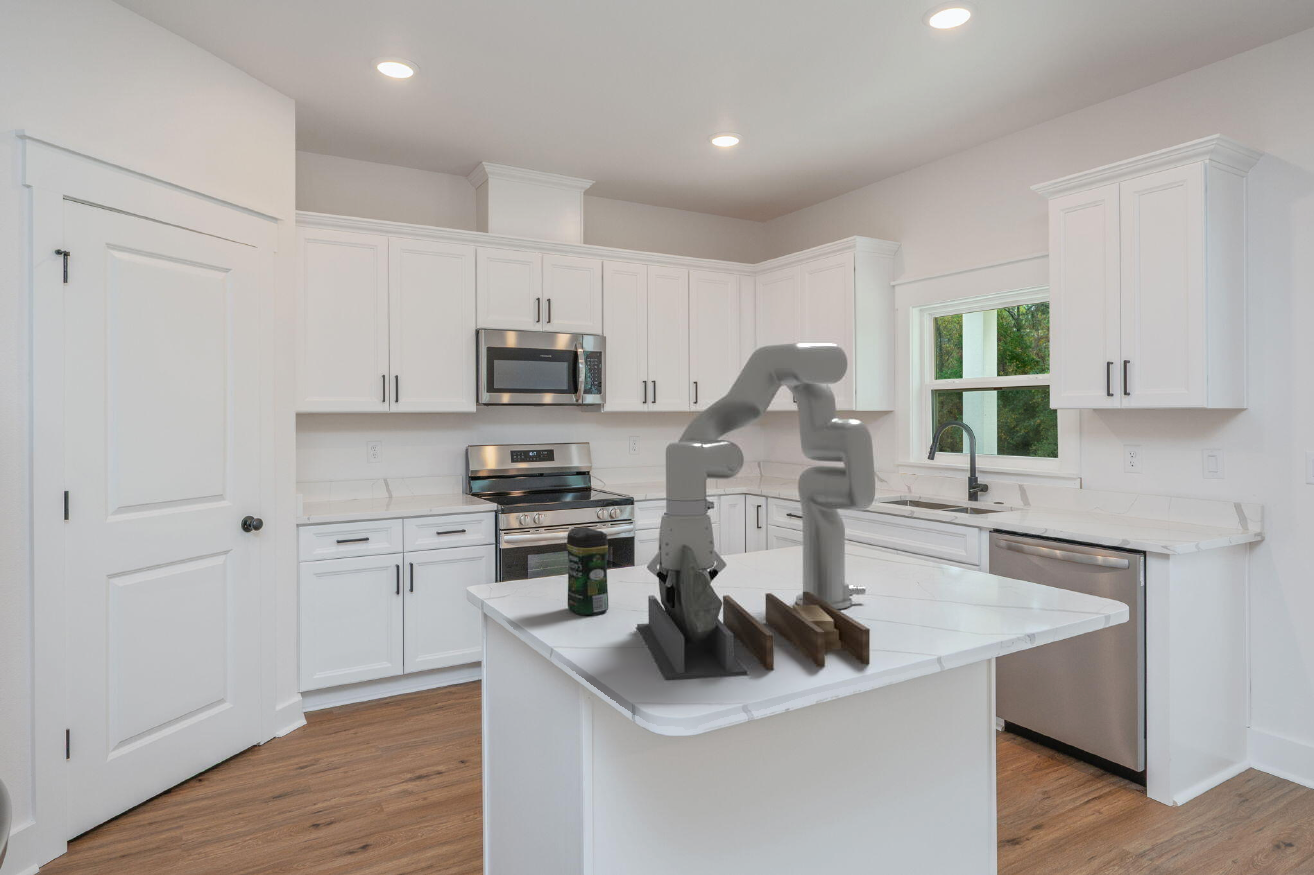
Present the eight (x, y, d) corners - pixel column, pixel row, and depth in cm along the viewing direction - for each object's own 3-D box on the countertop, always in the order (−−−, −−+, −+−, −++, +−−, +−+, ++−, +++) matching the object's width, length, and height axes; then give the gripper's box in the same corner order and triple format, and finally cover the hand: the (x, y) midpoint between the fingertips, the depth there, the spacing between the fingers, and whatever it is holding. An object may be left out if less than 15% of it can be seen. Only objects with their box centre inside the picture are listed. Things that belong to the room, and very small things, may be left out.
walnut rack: (808, 619, 159) (808, 591, 159) (869, 663, 131) (869, 629, 131) (723, 624, 156) (722, 595, 156) (766, 670, 128) (766, 635, 127)
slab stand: (703, 623, 157) (703, 591, 157) (747, 674, 125) (747, 635, 125) (637, 626, 155) (637, 595, 154) (665, 680, 123) (665, 640, 123)
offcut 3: (811, 634, 151) (811, 624, 151) (841, 652, 139) (841, 641, 139) (788, 636, 149) (788, 626, 149) (816, 654, 138) (816, 643, 138)
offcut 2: (813, 624, 151) (813, 614, 151) (838, 641, 139) (838, 630, 139) (790, 626, 150) (789, 616, 150) (813, 643, 138) (813, 632, 138)
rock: (730, 664, 128) (725, 548, 127) (696, 670, 127) (690, 552, 126) (680, 623, 154) (676, 526, 153) (651, 627, 152) (646, 529, 151)
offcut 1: (817, 615, 150) (817, 605, 150) (833, 631, 138) (833, 620, 138) (792, 615, 150) (792, 605, 150) (807, 631, 138) (807, 621, 138)
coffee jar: (562, 608, 170) (561, 527, 169) (593, 604, 174) (592, 524, 174) (581, 618, 162) (580, 532, 161) (613, 613, 166) (613, 529, 165)
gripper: (725, 504, 145) (726, 598, 145) (637, 507, 142) (638, 603, 142) (736, 509, 137) (737, 608, 138) (643, 512, 134) (645, 613, 135)
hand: (687, 604), depth 140 cm, fingers closed on rock, 5 cm apart
